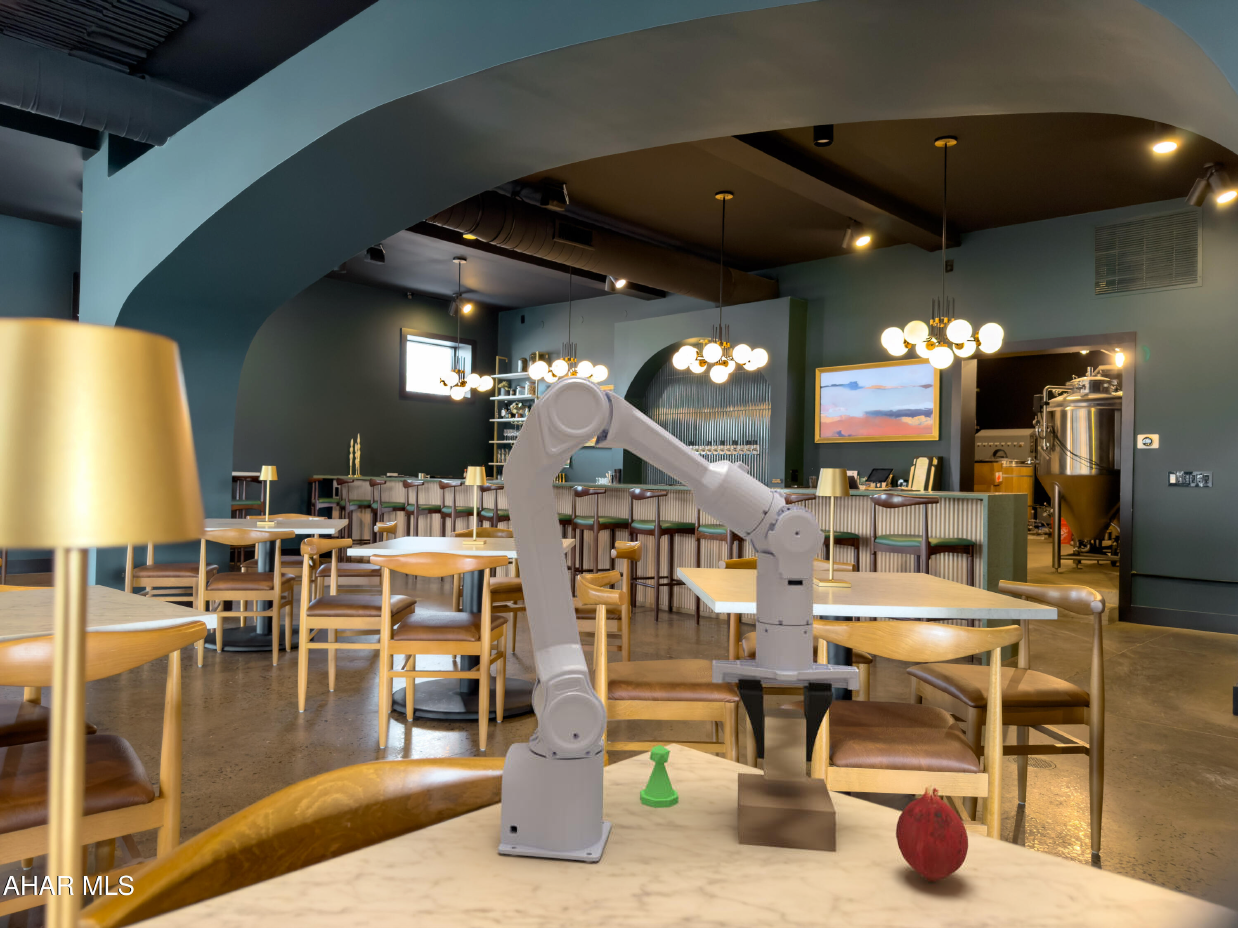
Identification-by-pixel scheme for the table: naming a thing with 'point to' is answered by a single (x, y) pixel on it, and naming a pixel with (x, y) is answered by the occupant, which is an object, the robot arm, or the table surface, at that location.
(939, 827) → the onion
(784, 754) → the maple block
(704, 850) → the table surface
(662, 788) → the game piece
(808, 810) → the walnut block
